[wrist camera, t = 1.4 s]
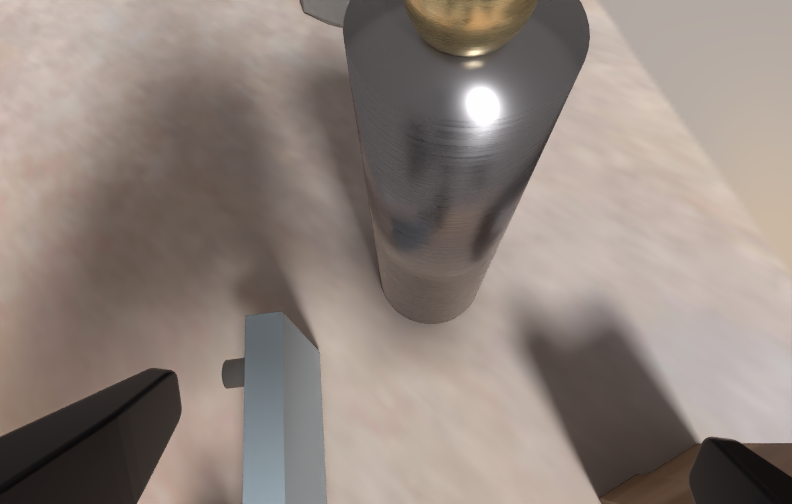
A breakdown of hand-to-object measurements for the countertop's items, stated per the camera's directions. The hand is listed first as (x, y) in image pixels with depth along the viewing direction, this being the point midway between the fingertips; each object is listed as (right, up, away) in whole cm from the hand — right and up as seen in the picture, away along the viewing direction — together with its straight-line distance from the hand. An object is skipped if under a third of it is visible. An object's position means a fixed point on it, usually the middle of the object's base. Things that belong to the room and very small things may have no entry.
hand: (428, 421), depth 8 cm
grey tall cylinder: (+1, +2, +15) cm, 15 cm away
